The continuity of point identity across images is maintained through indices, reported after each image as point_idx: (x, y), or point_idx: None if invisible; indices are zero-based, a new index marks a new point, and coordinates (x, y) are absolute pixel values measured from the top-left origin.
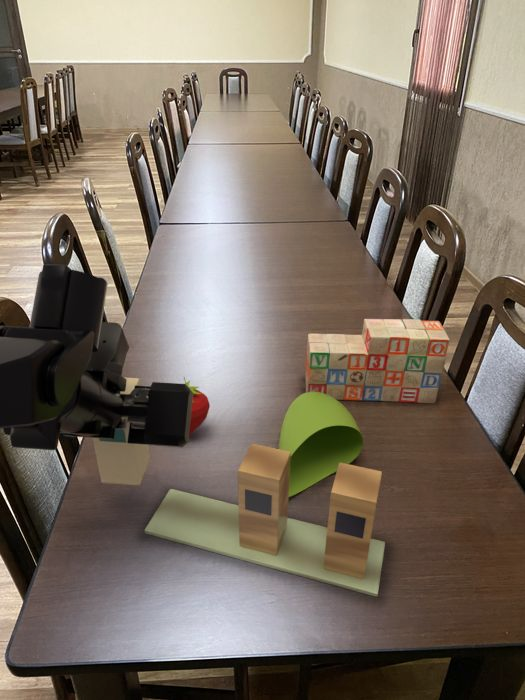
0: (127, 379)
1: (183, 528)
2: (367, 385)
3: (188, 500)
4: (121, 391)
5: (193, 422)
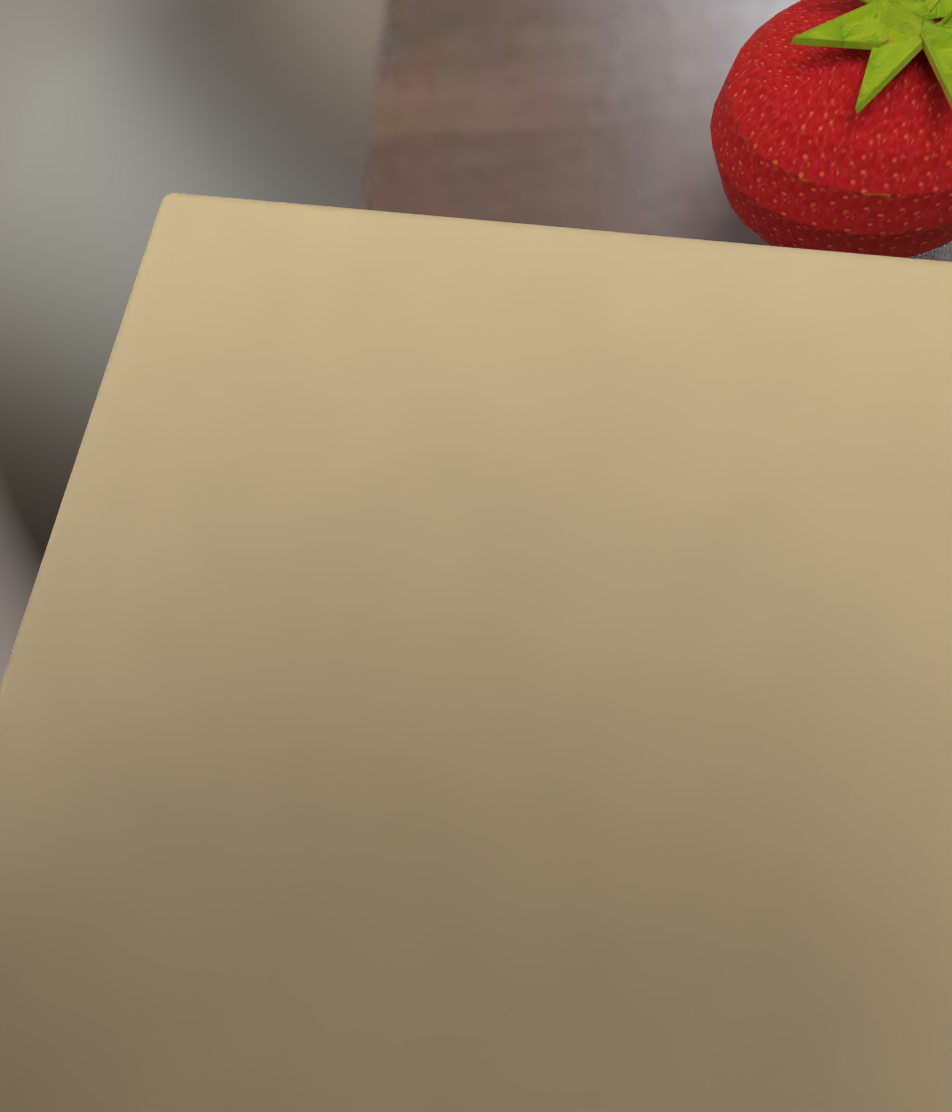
0: (933, 351)
1: None
2: None
3: None
4: (876, 1051)
5: (940, 240)
